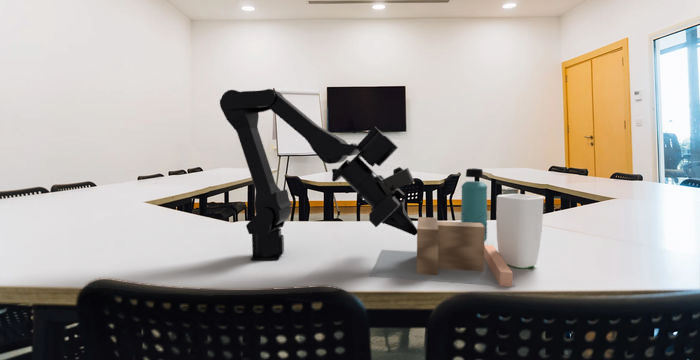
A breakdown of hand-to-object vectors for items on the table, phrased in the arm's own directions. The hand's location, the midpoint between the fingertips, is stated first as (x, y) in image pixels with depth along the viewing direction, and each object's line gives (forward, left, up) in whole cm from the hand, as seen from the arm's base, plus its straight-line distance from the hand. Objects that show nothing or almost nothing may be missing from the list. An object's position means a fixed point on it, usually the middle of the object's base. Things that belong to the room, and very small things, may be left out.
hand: (416, 233), depth 71 cm
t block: (+7, -2, -7) cm, 9 cm away
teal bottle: (+19, +15, -7) cm, 25 cm away
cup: (+22, -1, -7) cm, 23 cm away
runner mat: (+4, -1, -7) cm, 8 cm away
